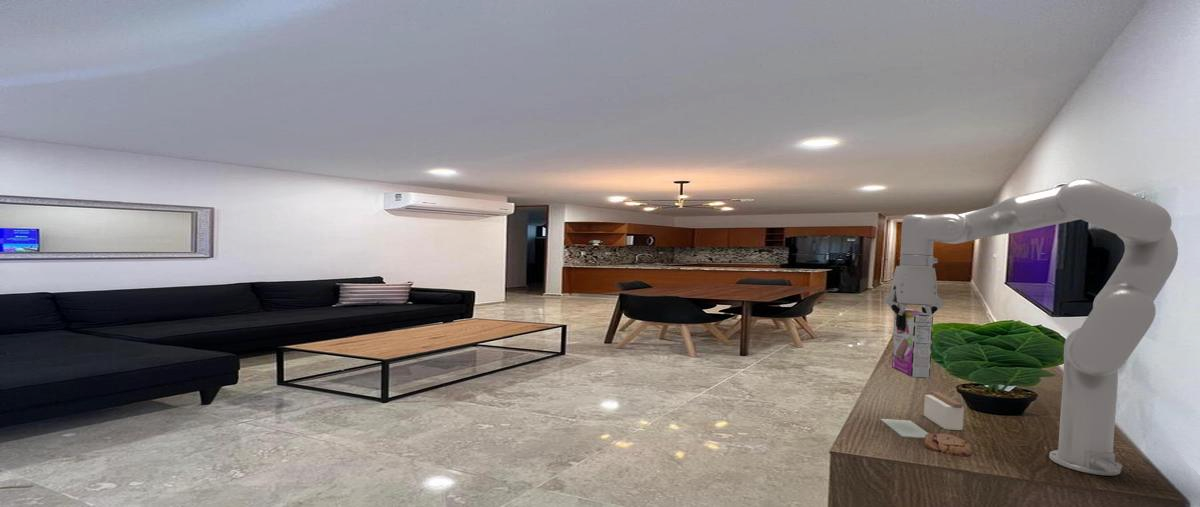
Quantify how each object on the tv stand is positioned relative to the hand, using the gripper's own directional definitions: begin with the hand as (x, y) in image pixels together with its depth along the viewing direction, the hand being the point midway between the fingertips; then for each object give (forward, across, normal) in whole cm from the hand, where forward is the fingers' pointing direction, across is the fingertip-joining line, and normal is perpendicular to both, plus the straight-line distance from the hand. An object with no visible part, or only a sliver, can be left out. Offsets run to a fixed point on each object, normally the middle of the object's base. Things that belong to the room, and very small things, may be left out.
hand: (912, 329), depth 155 cm
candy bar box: (+12, 0, 0) cm, 12 cm away
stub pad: (+26, 0, 0) cm, 26 cm away
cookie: (+27, -4, +13) cm, 30 cm away
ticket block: (+26, -13, -8) cm, 30 cm away
